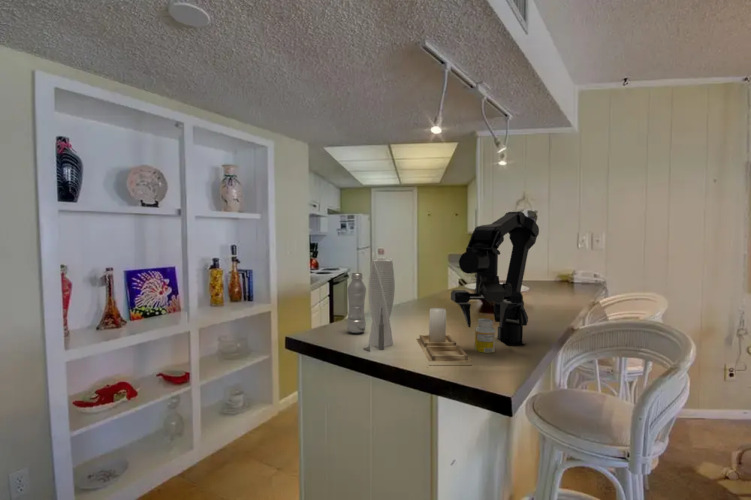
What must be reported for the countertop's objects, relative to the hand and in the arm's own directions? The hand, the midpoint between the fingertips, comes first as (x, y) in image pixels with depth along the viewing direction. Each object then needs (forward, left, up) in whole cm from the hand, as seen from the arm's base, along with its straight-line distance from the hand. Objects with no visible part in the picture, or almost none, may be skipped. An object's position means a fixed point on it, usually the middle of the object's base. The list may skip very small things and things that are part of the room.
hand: (485, 327), depth 110 cm
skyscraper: (+29, -5, -8) cm, 30 cm away
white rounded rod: (+12, -7, -6) cm, 15 cm away
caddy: (+12, -1, -8) cm, 14 cm away
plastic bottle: (+36, -24, -8) cm, 44 cm away
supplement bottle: (0, 0, -8) cm, 8 cm away
